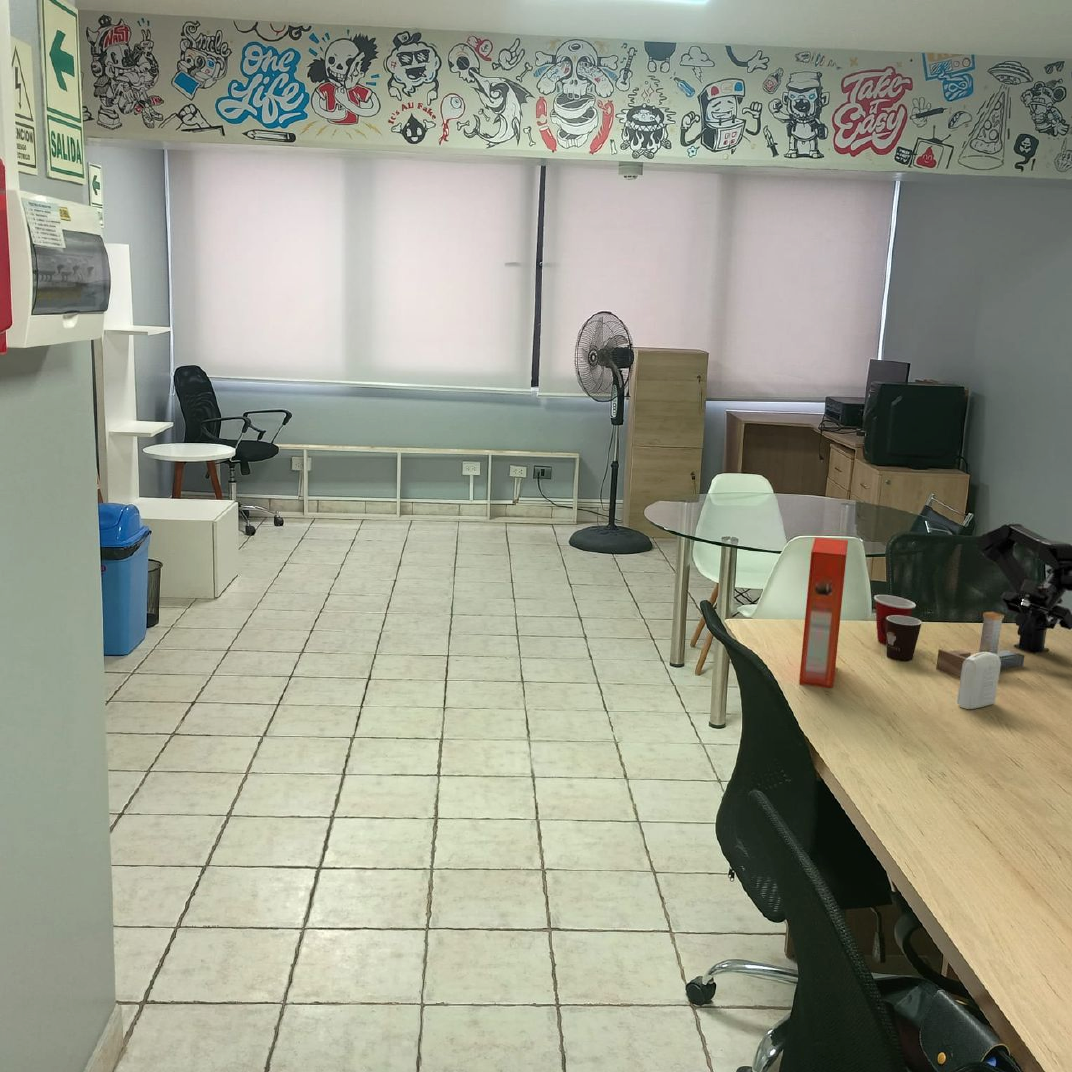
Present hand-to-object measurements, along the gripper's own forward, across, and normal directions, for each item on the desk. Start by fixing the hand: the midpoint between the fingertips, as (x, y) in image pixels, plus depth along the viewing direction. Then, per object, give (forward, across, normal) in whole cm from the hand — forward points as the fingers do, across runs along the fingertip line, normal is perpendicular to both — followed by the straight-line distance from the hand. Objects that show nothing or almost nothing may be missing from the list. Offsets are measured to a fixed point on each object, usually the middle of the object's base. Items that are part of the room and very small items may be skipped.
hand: (1019, 634), depth 279 cm
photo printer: (+31, +17, -20) cm, 41 cm away
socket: (+19, 0, -9) cm, 21 cm away
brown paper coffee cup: (+23, -16, -12) cm, 31 cm away
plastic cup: (+18, -25, -7) cm, 32 cm away
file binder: (+45, -13, -34) cm, 58 cm away
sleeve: (+10, 0, +1) cm, 10 cm away
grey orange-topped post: (+10, 0, -1) cm, 11 cm away
